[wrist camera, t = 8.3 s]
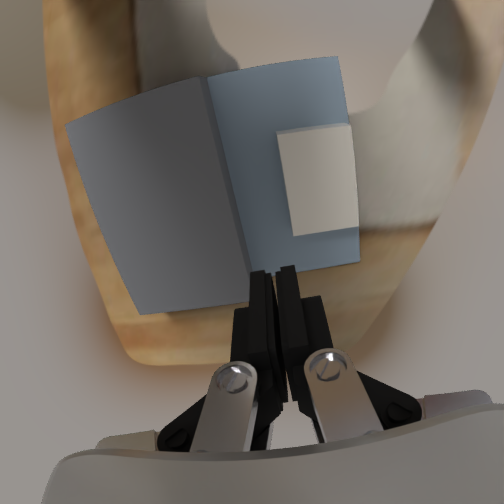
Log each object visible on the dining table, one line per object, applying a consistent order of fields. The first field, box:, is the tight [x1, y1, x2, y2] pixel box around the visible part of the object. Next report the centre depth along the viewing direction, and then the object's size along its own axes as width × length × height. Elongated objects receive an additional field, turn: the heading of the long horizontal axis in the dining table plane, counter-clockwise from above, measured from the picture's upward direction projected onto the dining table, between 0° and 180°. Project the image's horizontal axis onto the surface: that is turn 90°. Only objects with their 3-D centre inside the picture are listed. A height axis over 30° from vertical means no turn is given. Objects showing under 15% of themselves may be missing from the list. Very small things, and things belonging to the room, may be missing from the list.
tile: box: [276, 123, 359, 236], centre depth 26 cm, size 9×6×2 cm, turn 11°
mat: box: [207, 56, 360, 276], centre depth 27 cm, size 20×11×1 cm, turn 11°
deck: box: [65, 76, 253, 315], centre depth 27 cm, size 20×12×4 cm, turn 11°
